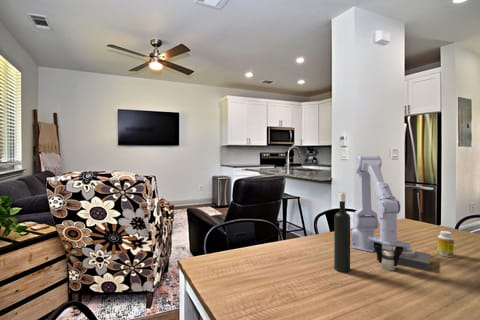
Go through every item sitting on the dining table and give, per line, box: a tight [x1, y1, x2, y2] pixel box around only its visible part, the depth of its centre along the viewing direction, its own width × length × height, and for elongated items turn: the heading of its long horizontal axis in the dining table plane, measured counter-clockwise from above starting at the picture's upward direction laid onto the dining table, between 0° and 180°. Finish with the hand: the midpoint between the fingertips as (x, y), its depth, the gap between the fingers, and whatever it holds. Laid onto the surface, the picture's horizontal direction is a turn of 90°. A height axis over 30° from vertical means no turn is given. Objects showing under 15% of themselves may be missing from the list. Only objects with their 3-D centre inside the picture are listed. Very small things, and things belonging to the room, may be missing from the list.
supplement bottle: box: [437, 230, 455, 258], centre depth 115 cm, size 6×6×10 cm
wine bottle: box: [333, 191, 351, 273], centre depth 101 cm, size 6×6×30 cm
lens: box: [381, 248, 396, 272], centre depth 103 cm, size 5×5×7 cm
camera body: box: [376, 245, 432, 272], centre depth 110 cm, size 18×12×4 cm, turn 52°
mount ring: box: [393, 247, 416, 257], centre depth 110 cm, size 8×8×2 cm
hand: (388, 263), depth 103 cm, fingers closed on lens, 5 cm apart
